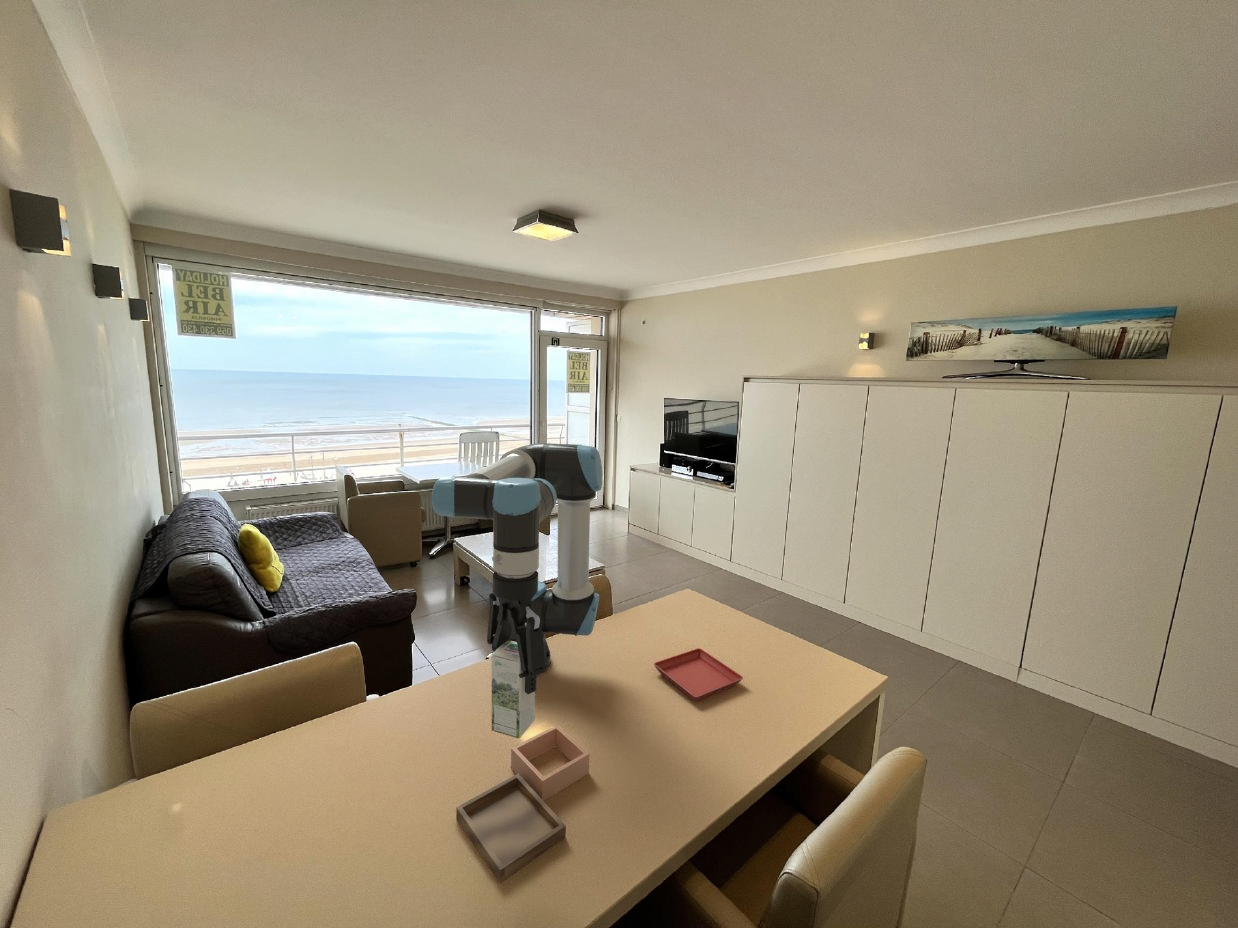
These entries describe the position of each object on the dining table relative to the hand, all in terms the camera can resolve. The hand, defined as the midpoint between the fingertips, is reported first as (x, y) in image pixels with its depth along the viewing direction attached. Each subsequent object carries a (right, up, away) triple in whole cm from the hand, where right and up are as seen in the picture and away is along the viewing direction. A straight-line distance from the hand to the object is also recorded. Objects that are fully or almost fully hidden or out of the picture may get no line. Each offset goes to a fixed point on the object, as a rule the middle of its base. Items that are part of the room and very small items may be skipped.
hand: (513, 696), depth 88 cm
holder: (+4, -24, +18) cm, 30 cm away
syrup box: (0, -6, +1) cm, 6 cm away
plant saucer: (+40, -20, +53) cm, 70 cm away
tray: (-1, -25, +3) cm, 26 cm away
